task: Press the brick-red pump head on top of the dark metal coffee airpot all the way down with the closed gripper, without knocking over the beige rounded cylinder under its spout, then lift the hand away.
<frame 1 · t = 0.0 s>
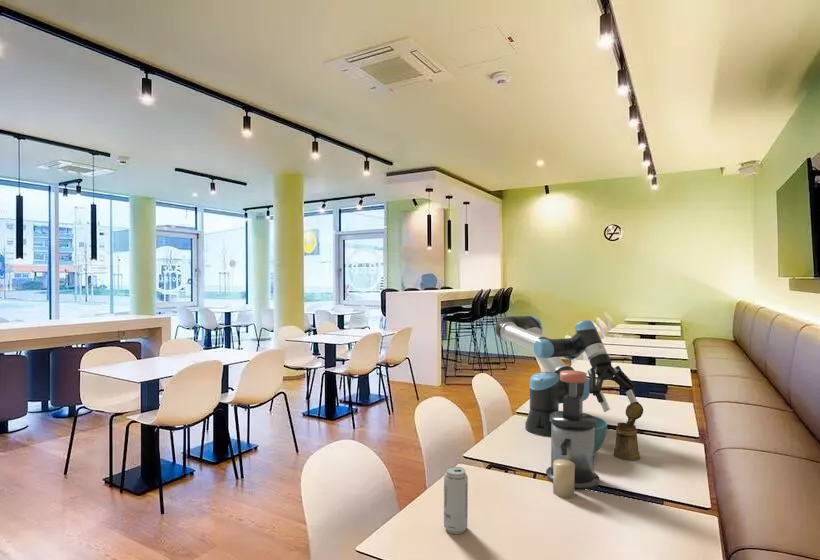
hand: (621, 409, 176), 15 cm above the table, tool tilted 35°, fingers open, 13 cm apart
airpot: (572, 478, 151), on the table
energy drink can: (455, 529, 121), on the table
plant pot: (579, 454, 172), on the table
pump head: (573, 386, 151), point 29 cm above the table, slide at 0.0 cm
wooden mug: (629, 454, 172), on the table
beige rounded cylinder: (563, 493, 141), on the table
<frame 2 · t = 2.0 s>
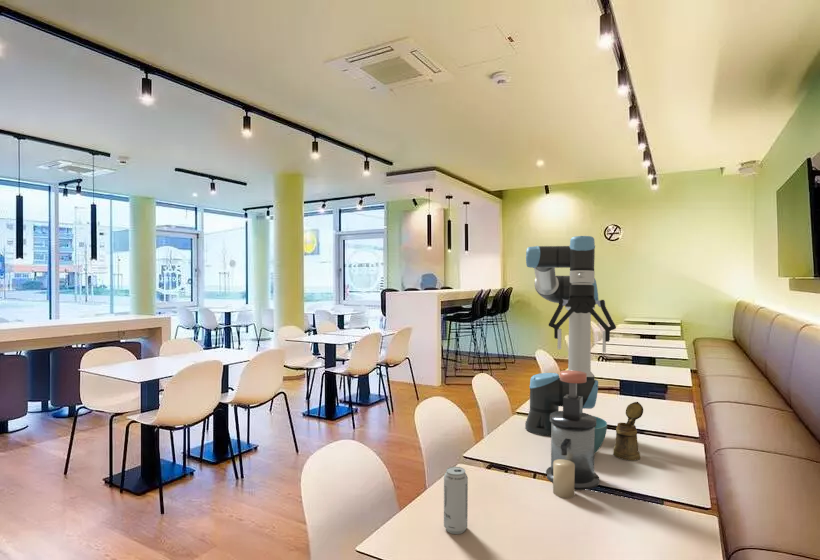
hand: (581, 350, 152), 41 cm above the table, tool pointing down, fingers open, 13 cm apart
nothing on the table moved.
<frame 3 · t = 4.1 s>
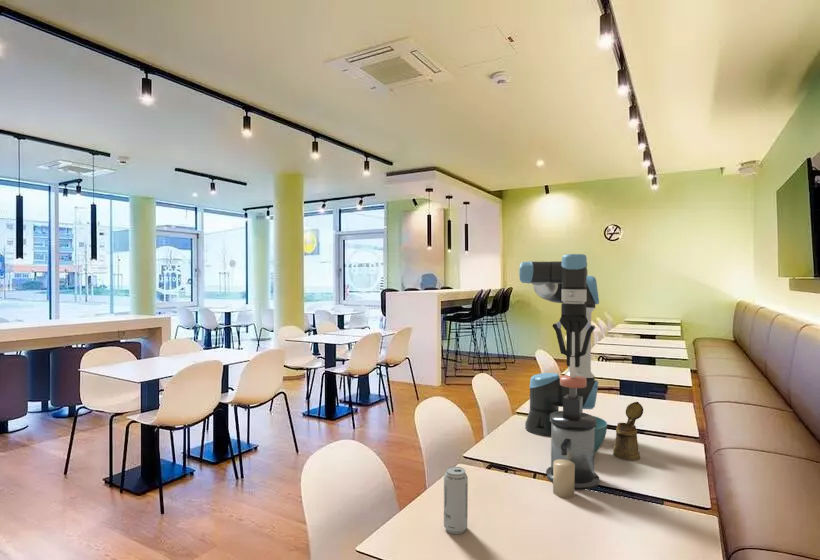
hand: (573, 376, 151), 32 cm above the table, tool pointing down, fingers closed
pump head: (573, 391, 151), point 28 cm above the table, slide at 1.5 cm, touching gripper
everything else where it was.
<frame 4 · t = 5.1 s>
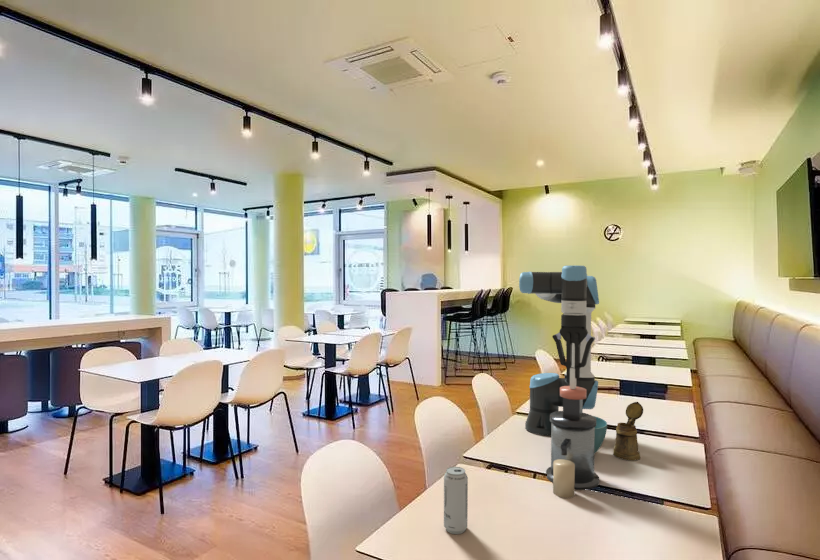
hand: (573, 388, 151), 29 cm above the table, tool pointing down, fingers closed
pump head: (572, 402, 151), point 24 cm above the table, slide at 5.1 cm, touching gripper
everything else where it was.
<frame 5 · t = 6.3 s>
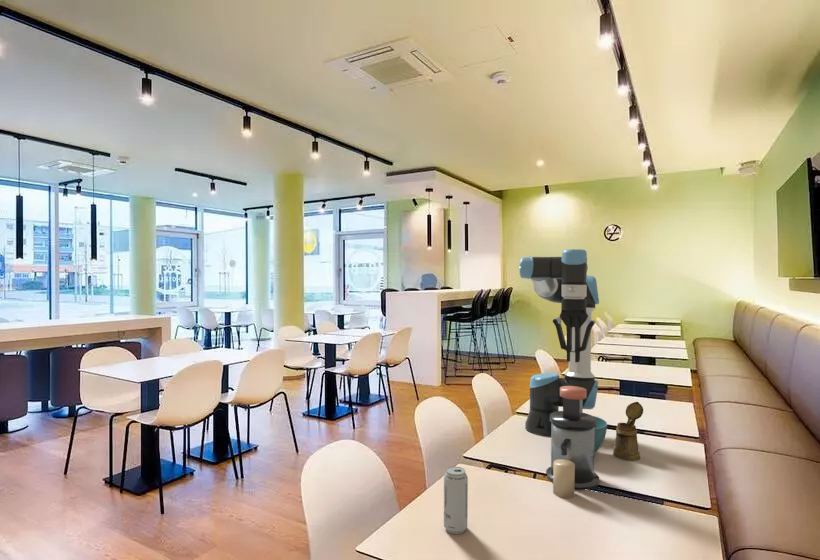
hand: (573, 371, 151), 34 cm above the table, tool pointing down, fingers closed
pump head: (572, 402, 151), point 24 cm above the table, slide at 5.1 cm
everything else where it was.
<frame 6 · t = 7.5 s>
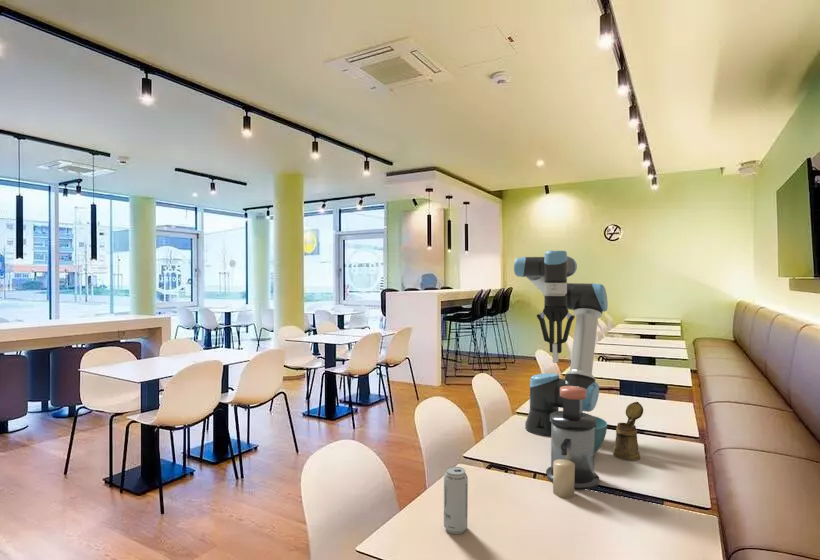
hand: (555, 361, 167), 34 cm above the table, tool pointing down, fingers closed
nothing on the table moved.
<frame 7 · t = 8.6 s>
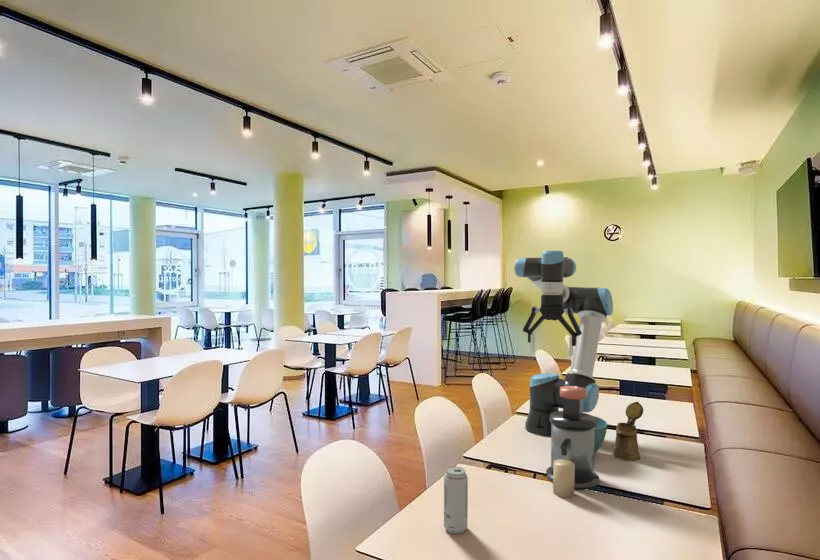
hand: (551, 353, 170), 37 cm above the table, tool pointing down, fingers open, 13 cm apart
nothing on the table moved.
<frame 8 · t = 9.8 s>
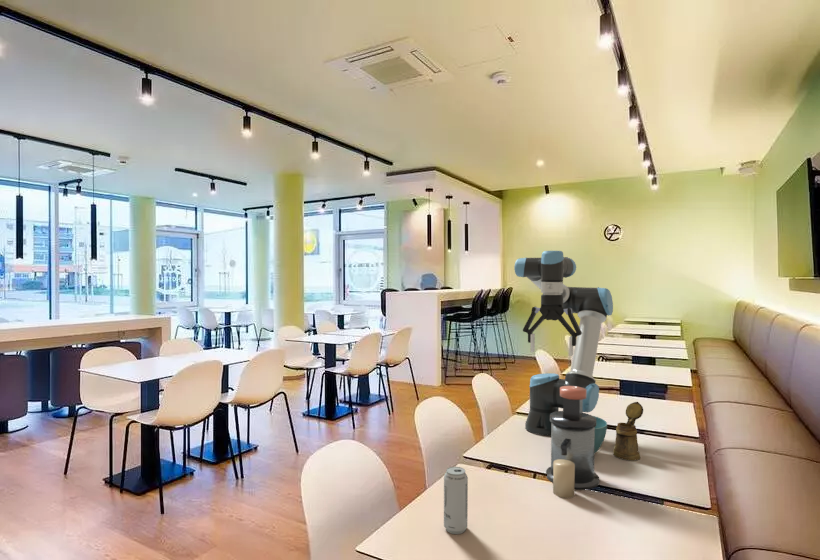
hand: (551, 353, 170), 37 cm above the table, tool pointing down, fingers open, 13 cm apart
nothing on the table moved.
at the end: pump head slide at 5.1 cm; beige rounded cylinder tilted 0°; beige rounded cylinder moved 0.0 cm from its start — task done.
